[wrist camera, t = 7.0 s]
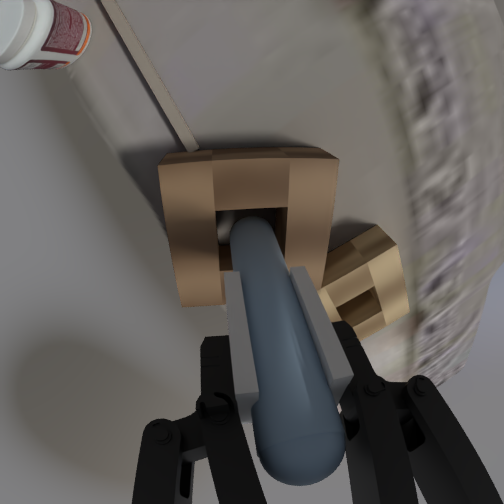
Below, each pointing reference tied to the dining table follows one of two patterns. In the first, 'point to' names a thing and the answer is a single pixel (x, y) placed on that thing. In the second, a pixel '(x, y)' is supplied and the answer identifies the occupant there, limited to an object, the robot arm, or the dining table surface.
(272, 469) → the blue-grey peg
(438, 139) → the dining table surface
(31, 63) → the pill bottle
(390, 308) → the light wood square frame
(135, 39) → the thin wooden stick
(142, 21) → the dining table surface
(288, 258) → the square wooden ring
